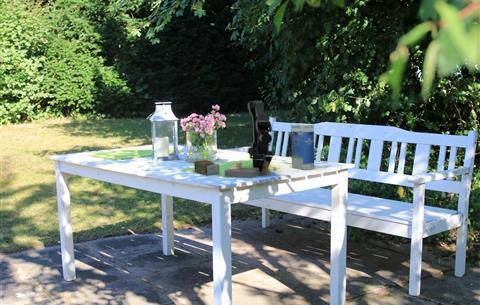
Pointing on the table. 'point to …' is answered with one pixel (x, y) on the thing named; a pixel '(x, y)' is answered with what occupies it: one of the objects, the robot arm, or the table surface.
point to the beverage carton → (206, 167)
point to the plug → (265, 168)
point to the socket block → (243, 173)
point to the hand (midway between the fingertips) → (263, 170)
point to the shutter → (238, 166)
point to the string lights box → (302, 146)
